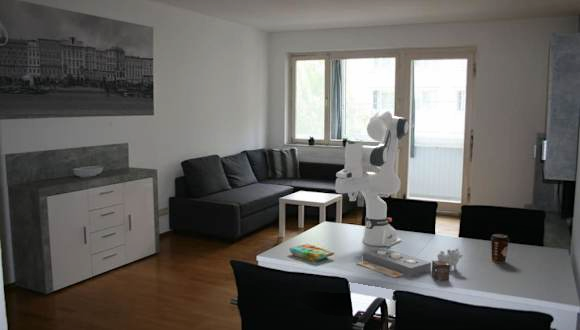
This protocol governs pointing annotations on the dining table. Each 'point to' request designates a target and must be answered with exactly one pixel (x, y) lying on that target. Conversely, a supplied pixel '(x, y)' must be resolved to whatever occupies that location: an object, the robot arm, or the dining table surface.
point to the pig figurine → (450, 257)
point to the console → (397, 262)
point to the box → (440, 270)
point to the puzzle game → (310, 252)
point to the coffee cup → (499, 247)
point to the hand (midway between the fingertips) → (352, 200)
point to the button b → (395, 255)
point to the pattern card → (380, 269)
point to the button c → (410, 261)
